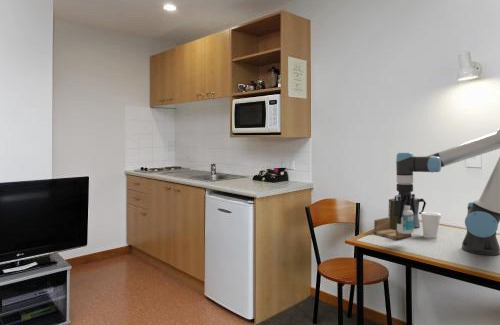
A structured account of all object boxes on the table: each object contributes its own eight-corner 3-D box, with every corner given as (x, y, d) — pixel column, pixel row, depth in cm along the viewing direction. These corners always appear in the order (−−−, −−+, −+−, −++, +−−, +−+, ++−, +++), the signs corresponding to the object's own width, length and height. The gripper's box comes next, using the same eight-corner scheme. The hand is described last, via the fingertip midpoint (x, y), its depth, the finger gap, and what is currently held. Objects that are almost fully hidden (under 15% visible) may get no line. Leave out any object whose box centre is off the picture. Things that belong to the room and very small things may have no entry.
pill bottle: (393, 231, 171) (393, 205, 171) (404, 229, 174) (404, 203, 174) (405, 234, 164) (405, 207, 164) (416, 233, 167) (416, 206, 167)
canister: (404, 226, 208) (405, 194, 206) (410, 231, 197) (411, 197, 196) (386, 226, 209) (386, 194, 208) (391, 230, 198) (392, 197, 197)
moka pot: (404, 223, 217) (404, 192, 216) (429, 227, 205) (430, 195, 204) (396, 225, 211) (397, 193, 210) (422, 230, 199) (423, 196, 198)
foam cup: (426, 239, 181) (426, 215, 180) (417, 234, 190) (418, 211, 190) (443, 239, 181) (444, 215, 180) (434, 234, 190) (434, 211, 190)
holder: (412, 237, 185) (413, 222, 184) (399, 240, 178) (400, 225, 178) (385, 230, 199) (386, 217, 198) (372, 233, 192) (373, 219, 192)
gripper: (409, 181, 177) (409, 224, 178) (385, 184, 166) (385, 230, 167) (423, 182, 171) (423, 227, 172) (399, 185, 160) (399, 233, 161)
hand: (405, 228), depth 169 cm, fingers closed on pill bottle, 7 cm apart
